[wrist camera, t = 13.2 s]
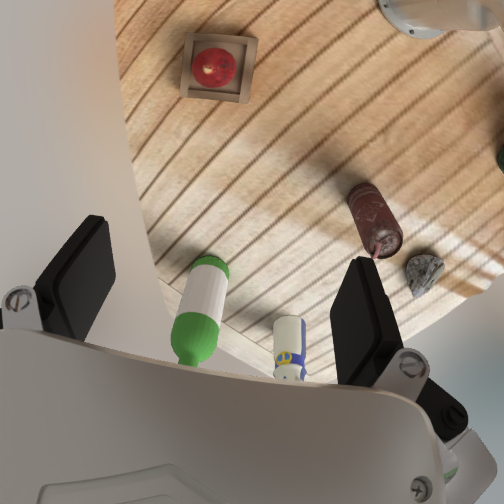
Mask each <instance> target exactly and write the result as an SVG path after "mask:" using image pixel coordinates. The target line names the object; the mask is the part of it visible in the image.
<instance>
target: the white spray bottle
mask: <svg viewBox="0 0 504 504" xmlns="http://www.w3.org/2000/svg"><path fill="white" fill-rule="evenodd" d="M273 334H274V360H275V370H274V372H273V375H274V377H275V379H283V380H293V381H304V377H305V376H306V374H307V371H306V369H305V366H304V361H305V358H306V324H305V321H304V320H303V319H301V318H300V317H297V316H293V315H287V316H282V317H280V318H278V319H277V320H276V321H275V322H274V324H273Z"/></svg>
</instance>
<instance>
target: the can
mask: <svg viewBox="0 0 504 504" xmlns="http://www.w3.org/2000/svg"><path fill="white" fill-rule="evenodd" d="M348 206H349V208H350V211H351V214H352V216H353V219H354V221H355V224H356V227H357V229H358V232H359V235H360V237H361V240H362V243H363V246H364V249H365V250H366V251H367V253H368V254H370V256H371V258H372V259H376V258H378V259H386V258H389V257H392V256H393V255H395V254H396V253H397V252H398V251H399V250H400V248H401V246H402V243H403V232H402V230H401V228H400V226H399V224H398V222H397V221H396V219H395V217H394V215H393V214H392V212H391V210H390V208H389V207H388V205H387V203H386V202H385V200H384V198H383V197H382V195H381V193H380V192H379V190H378V189H377V188H376V187H375V186H373V185H371V184H360V185H358V186H356V187H355V188H353V189H352V190H351V192H350V193H349V196H348Z"/></svg>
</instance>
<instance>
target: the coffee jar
mask: <svg viewBox="0 0 504 504" xmlns="http://www.w3.org/2000/svg"><path fill="white" fill-rule="evenodd" d="M498 164H499V167H500V169H501V171H502V172H503V173H504V146H503V148H502V150H501V151H500V153H499V156H498Z"/></svg>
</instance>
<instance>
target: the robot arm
mask: <svg viewBox="0 0 504 504" xmlns="http://www.w3.org/2000/svg"><path fill="white" fill-rule="evenodd" d="M378 3H379V6H380V9H381V11H382V13H383V15H384V16H385V18H386V19H387V20H388V21H389V23H390V24H391V25H392V26H393V27H395V28H396V29H397V30H398V31H400V32H402V33H403V34H405V35H407V36H410V37H413V38H417V39H431V38H435V37H437V36H439V35H441V34H442V33H443V32H444V31H445V30H467V31H489V30H492V29H495V28H497V27H498V26H500V27H501V29H502V31H503V32H504V0H378ZM383 5H385V6H386V7H384V6H383ZM409 30H410V31H411V33H410V32H409ZM115 277H116V273H115V267H114V261H113V254H112V248H111V240H110V233H109V225H108V222H107V221H105V219H104V217H102V216H95V215H89V216H88V217H87V218H86V219H85V220H84V221H83V222H82V224H81V225H80V226H79V227H78V228H77V229H76V231H75V232H74V233H73V234H72V236H71V237H70V238H69V239H68V240H67V242H66V243H65V244H64V245H63V247H62V248H61V249H60V250H59V252H58V253H57V254H56V256H55V257H54V258H53V259H52V261H51V262H50V263H49V265H48V266H47V267H46V269H45V270H44V271H43V273H42V274H41V275H40V277H39V278H38V279H37V281H36V282H35V283H36V284H35V286H34V287H33V288H31V287H29V286H23V285H22V286H17V287H15V288H13V289H11V290H10V291H9V292H7V294H6V295H5V296H4V298H3V300H2V308H0V504H474V503H475V502H476V501H477V500H478V499H479V497H480V496H481V495H482V494H483V493H484V491H485V490H486V489H487V488H488V487H489V485H490V484H491V483H492V482H493V481H494V479H495V477H496V475H497V463H496V461H495V459H494V458H493V456H492V455H491V453H490V452H489V450H488V449H487V447H486V446H485V445H484V443H483V442H482V440H481V439H480V438H479V436H478V435H477V433H476V432H475V430H474V429H473V428H471V429H469V428H468V427H467V425H468V415H467V411H466V410H465V408H464V407H463V406H462V404H460V403H459V402H458V401H457V400H456V399H454V398H453V397H452V396H451V395H450V394H448V393H447V392H446V391H445V390H443V389H442V388H441V387H440V386H439V385H437V384H436V383H435V382H434V381H432V380H431V379H430V378H429V377H428V376H429V372H430V368H429V364H428V361H427V360H426V358H425V357H424V356H423V355H422V354H421V353H420V352H419V351H417V350H415V349H412V348H404V347H403V343H402V339H401V336H400V332H399V329H398V326H397V322H396V319H395V316H394V313H393V310H392V307H391V304H390V301H389V298H388V296H387V295H386V294H385V291H384V288H383V286H382V283H381V280H380V277H379V274H378V271H377V268H376V265H375V263H374V260H373V259H372V258H367V257H361V256H358V257H357V258H356V259H352V261H351V263H350V265H349V267H348V270H347V272H346V275H345V277H344V279H343V282H342V284H341V287H340V289H339V291H338V293H337V296H336V298H335V300H334V303H333V305H332V307H331V310H330V321H331V329H332V336H333V344H334V352H335V361H336V370H337V379H338V384H327V383H315V382H304V381H293V380H283V379H274V378H265V377H257V376H250V375H242V374H235V373H228V372H222V371H215V370H209V369H203V368H198V367H192V366H187V365H181V364H176V363H171V362H166V361H161V360H156V359H152V358H147V357H142V356H138V355H134V354H129V353H125V352H121V351H117V350H113V349H109V348H105V347H101V346H97V345H94V344H90V343H86V342H84V341H85V338H86V336H87V334H88V332H89V330H90V328H91V326H92V324H93V322H94V320H95V318H96V316H97V314H98V312H99V310H100V308H101V306H102V304H103V302H104V300H105V299H106V297H107V295H108V293H109V291H110V289H111V287H112V285H113V284H114V282H115Z"/></svg>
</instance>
